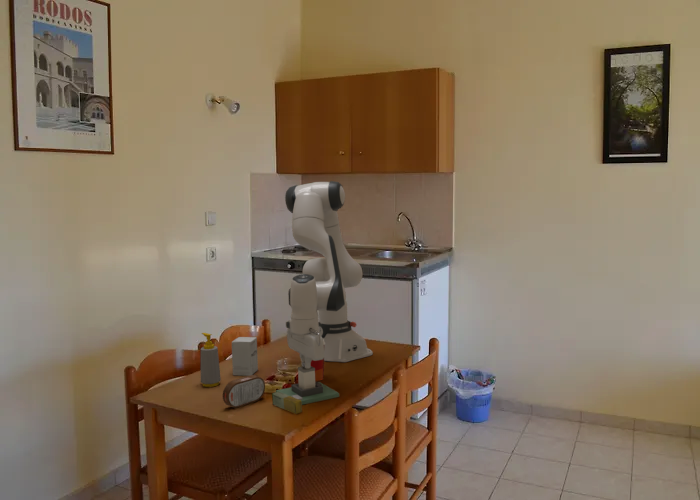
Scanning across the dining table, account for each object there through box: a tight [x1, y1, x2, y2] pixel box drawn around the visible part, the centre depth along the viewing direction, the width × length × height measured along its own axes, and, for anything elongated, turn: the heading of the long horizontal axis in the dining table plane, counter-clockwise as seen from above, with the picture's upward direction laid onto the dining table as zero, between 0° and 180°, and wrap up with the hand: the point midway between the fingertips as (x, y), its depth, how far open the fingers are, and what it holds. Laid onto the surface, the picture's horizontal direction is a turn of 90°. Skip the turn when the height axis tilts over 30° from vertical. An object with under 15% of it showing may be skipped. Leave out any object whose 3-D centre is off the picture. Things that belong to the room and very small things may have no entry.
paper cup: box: [311, 339, 325, 382], centre depth 225 cm, size 8×8×14 cm
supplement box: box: [231, 336, 259, 377], centre depth 234 cm, size 7×7×13 cm
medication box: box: [271, 391, 303, 415], centre depth 197 cm, size 12×3×4 cm, turn 43°
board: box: [275, 381, 340, 406], centre depth 208 cm, size 16×14×3 cm
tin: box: [222, 374, 266, 408], centre depth 202 cm, size 15×3×8 cm, turn 136°
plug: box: [297, 366, 316, 390], centre depth 208 cm, size 4×4×8 cm
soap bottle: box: [200, 332, 222, 388], centre depth 221 cm, size 7×7×18 cm
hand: (306, 367), depth 207 cm, fingers closed
